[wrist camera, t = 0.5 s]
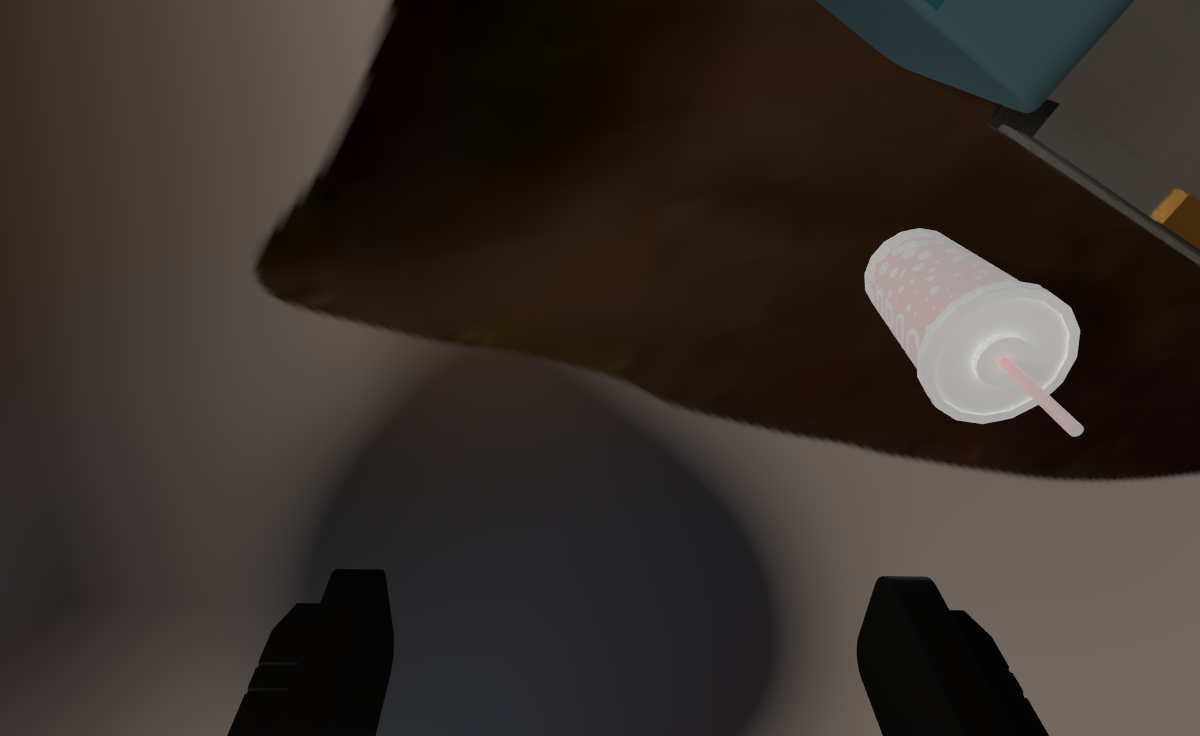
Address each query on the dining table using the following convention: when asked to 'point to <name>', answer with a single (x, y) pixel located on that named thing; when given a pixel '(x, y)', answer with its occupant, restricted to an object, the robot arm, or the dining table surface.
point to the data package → (984, 41)
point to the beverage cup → (973, 329)
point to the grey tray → (1130, 122)
